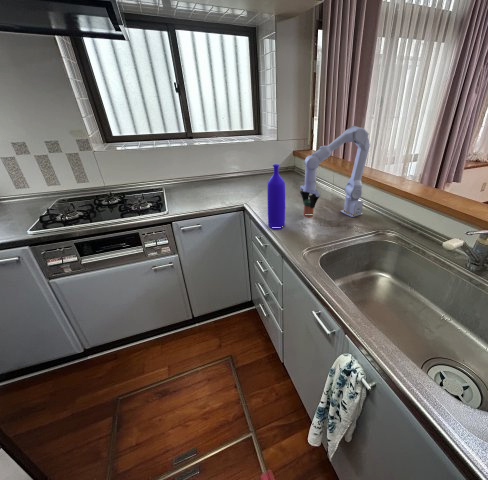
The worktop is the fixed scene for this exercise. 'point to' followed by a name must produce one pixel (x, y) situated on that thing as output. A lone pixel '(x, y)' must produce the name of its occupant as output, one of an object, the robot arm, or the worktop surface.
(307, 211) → the jar
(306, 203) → the jar lid
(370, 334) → the worktop surface
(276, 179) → the bottle
